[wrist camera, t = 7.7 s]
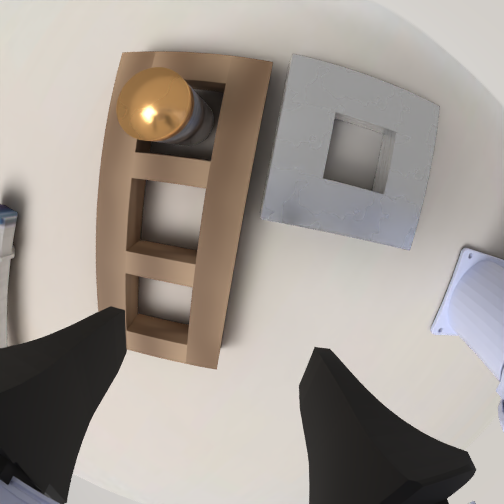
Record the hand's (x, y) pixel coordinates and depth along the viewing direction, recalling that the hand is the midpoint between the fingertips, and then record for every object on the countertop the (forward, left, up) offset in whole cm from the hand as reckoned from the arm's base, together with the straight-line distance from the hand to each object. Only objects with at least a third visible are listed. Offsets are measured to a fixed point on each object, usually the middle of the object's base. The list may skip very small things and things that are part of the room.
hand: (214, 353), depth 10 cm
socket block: (-6, -9, -10) cm, 14 cm away
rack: (+4, -2, -10) cm, 11 cm away
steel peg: (+4, -9, -10) cm, 14 cm away
